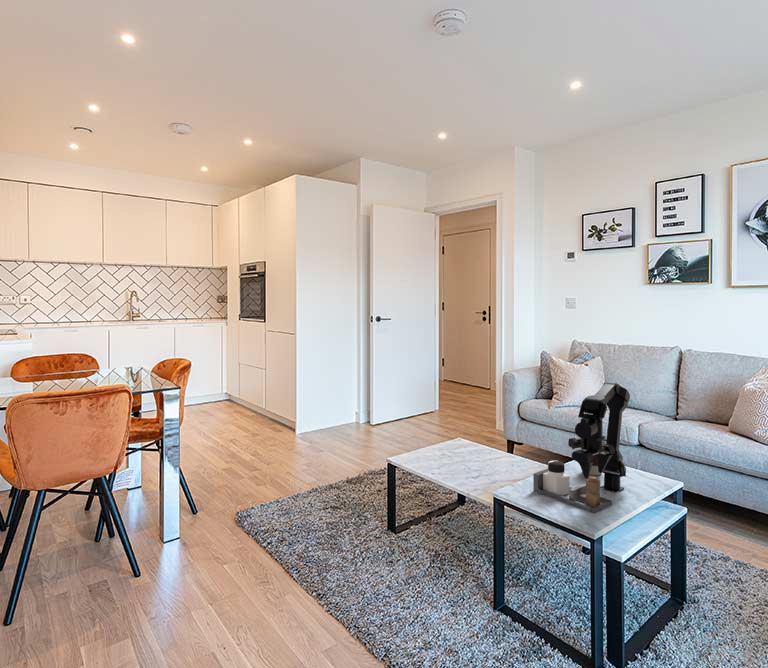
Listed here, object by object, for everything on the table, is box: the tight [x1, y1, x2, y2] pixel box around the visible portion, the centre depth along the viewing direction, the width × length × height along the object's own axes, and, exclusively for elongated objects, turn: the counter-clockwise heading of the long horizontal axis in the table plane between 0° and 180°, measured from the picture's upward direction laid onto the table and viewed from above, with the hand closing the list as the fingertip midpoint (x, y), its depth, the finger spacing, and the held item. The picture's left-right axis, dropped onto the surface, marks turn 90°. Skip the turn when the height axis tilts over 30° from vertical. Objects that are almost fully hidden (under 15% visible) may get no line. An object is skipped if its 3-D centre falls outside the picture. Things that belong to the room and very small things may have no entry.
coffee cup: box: [580, 440, 606, 476], centre depth 211 cm, size 10×10×15 cm
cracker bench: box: [532, 468, 613, 514], centre depth 185 cm, size 12×26×7 cm, turn 36°
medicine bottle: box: [543, 460, 571, 496], centre depth 190 cm, size 7×7×12 cm
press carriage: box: [568, 476, 601, 507], centre depth 180 cm, size 8×9×10 cm
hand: (593, 475), depth 177 cm, fingers open, 9 cm apart
